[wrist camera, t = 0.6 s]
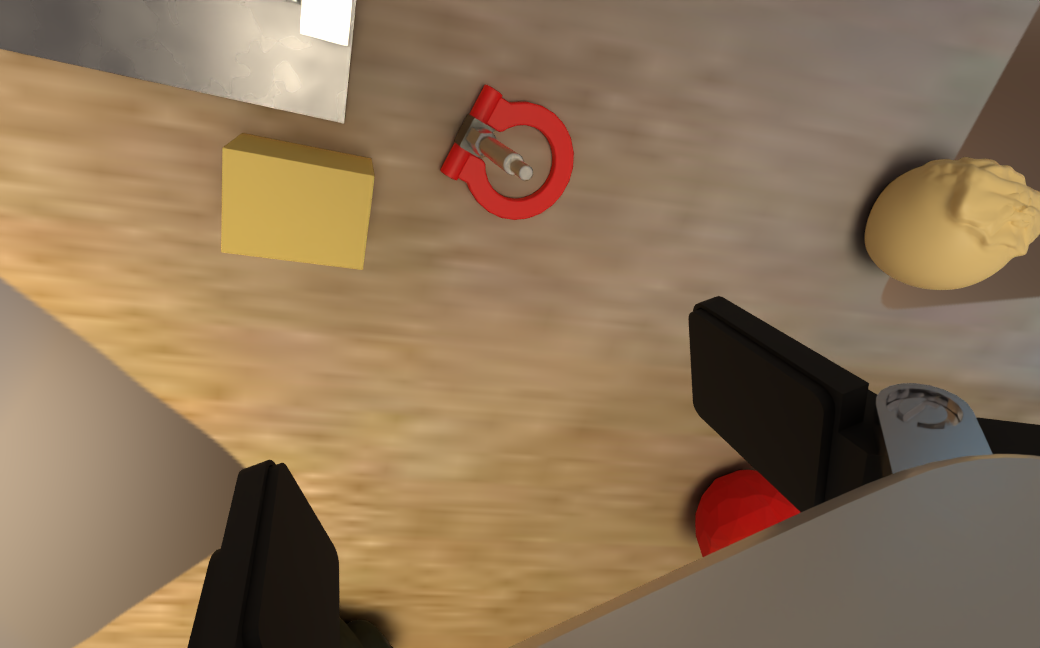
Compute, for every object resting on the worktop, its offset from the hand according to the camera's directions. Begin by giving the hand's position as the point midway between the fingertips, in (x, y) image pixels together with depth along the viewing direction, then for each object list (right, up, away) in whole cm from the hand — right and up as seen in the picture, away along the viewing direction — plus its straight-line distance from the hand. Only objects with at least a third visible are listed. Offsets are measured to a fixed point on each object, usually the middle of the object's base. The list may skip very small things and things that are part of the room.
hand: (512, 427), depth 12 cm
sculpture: (+38, +14, +40) cm, 57 cm away
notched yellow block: (-15, +11, +24) cm, 31 cm away
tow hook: (0, +15, +28) cm, 31 cm away
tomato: (+25, -19, +53) cm, 62 cm away
